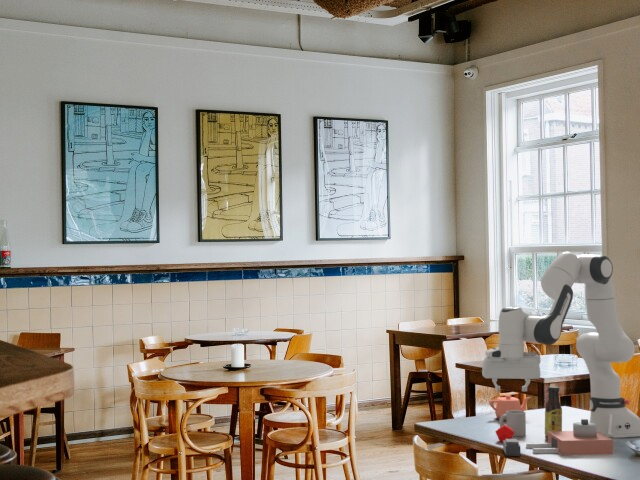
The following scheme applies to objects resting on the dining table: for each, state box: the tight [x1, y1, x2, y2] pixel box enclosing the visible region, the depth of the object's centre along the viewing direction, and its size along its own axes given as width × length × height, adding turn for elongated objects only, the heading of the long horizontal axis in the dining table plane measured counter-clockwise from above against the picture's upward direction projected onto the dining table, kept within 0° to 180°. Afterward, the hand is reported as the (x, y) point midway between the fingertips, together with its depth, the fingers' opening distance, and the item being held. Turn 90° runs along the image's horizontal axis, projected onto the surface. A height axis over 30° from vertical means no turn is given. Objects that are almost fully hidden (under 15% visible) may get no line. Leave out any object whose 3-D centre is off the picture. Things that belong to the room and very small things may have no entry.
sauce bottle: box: [544, 385, 563, 441], centre depth 310 cm, size 7×6×20 cm
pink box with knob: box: [525, 418, 614, 456], centre depth 292 cm, size 27×16×11 cm, turn 92°
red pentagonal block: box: [495, 424, 514, 444], centre depth 307 cm, size 7×7×8 cm
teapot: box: [488, 394, 532, 422], centre depth 351 cm, size 12×18×10 cm, turn 90°
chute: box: [502, 438, 521, 457], centre depth 289 cm, size 9×5×5 cm, turn 173°
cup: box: [498, 410, 527, 438], centre depth 319 cm, size 7×10×9 cm
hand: (511, 391), depth 291 cm, fingers open, 8 cm apart
